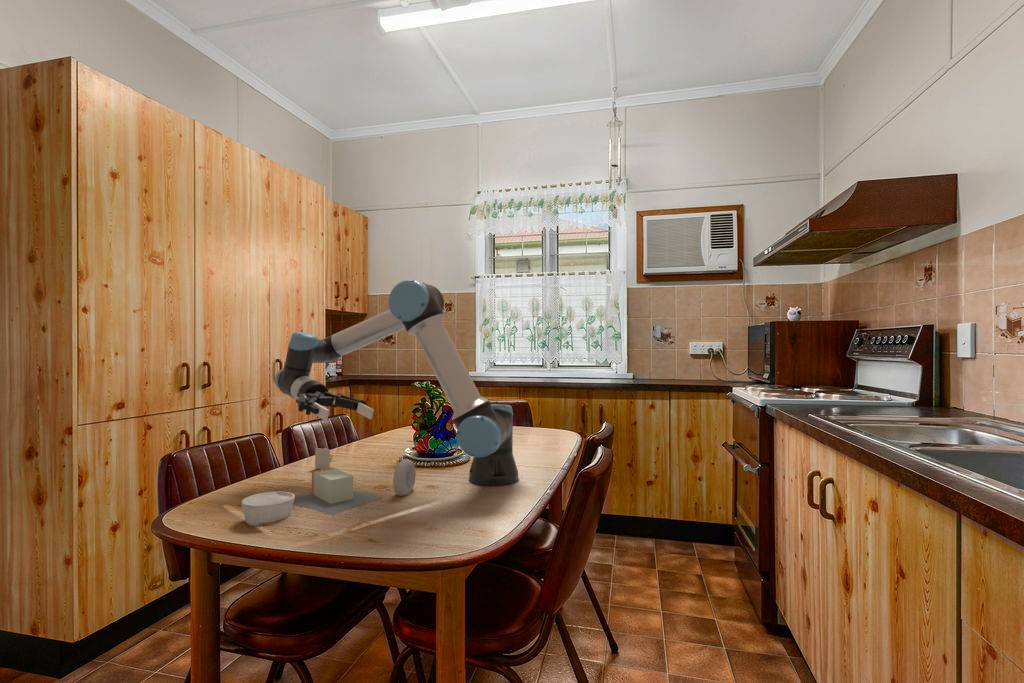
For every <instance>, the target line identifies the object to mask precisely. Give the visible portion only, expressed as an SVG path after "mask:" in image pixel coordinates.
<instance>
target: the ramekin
mask: <svg viewBox="0 0 1024 683" xmlns="http://www.w3.org/2000/svg"><path fill="white" fill-rule="evenodd" d="M295 496H296V495H295V494H294V493H292V492H288V491H283V490H282V491H279V490H278V491H265V492H260V493H255V494H252V495H249V496H247V497H245V498H243V499H242V501H241V507H242V510H243V511H242V512H243V515H244V519H245V523H247V524H248V525H249V526H252V527H258V528H259V527H260V528H262V527H264V523H265V524H267V523H271V522H277V521H281V520H284V519H285V518H288V517H289V516H290V515H291V514H292V512H293V506H294V504H293V502H294V500H295Z"/></svg>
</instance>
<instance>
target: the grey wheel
mask: <svg viewBox="0 0 1024 683" xmlns="http://www.w3.org/2000/svg"><path fill="white" fill-rule="evenodd" d="M416 477H417V474H416V467H415V463H414V462H413V461H412V460H410V459H407V458H406V459H402V460H401V461H399V462H398V463H397V465H396V467H395V470H394V471H393V478H392V486H393V491H394V493H395V494H396V496H400V497H404V496H407V495H409V494H411V492H412V491H413V489H414V486H415V482H416Z"/></svg>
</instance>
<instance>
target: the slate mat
mask: <svg viewBox="0 0 1024 683" xmlns="http://www.w3.org/2000/svg"><path fill="white" fill-rule="evenodd" d="M379 499H383V496H380V495H375V494H372V493H367V492H363V491H359V490H354V489H353V499H350V500H346V501H342V502H337V503H333V504H330V503H328V502H326V501H324V500H322V499H321V498H319V497H317V496H315V495H313V494H312V491H310V492H306V493H303V494H299V495H295V500H294V502H293V505H296V506H298V507H299V506H300V507H303V508H307V509H311V510H312V511H313V510H314V511H317V512H319V513H322V514H327V515H331V516H334V515H336V514H340V513H342V512H344V511H348V510H351V509H353V508H356V507H359V506H362V505H365V504H368V503H370V502H373V501H378V500H379Z"/></svg>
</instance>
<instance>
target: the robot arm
mask: <svg viewBox="0 0 1024 683" xmlns="http://www.w3.org/2000/svg"><path fill="white" fill-rule="evenodd" d="M444 298H445V297H444V296H443V294H442V292H441V291H440V290H439V289H438V288H437V287H436V286H434V285H431V284H428V283H425V282H422V281H421V280H418V279H406V280H402V281H399V282H398V283H397V284H395V285H394V287H393V288H392V289H391V291H390V294H389V297H388V308H389V309H387V310H385V311H383V312H381V313H378V314H376V315H374V316H371V317H369V318H367V319H366V320H363V321H360V322H358V323H356V324H354V325H352V326H350V327H347V328H344V329H343V330H340V331H338V332H336V333H333V334H332V335H329V336H327V337H325V338H322V339H319V338H318V336H317V335H315V334H313V333H309V332H303V331H294V332H293V333H292V334H291V336H290V341H289V342H288V347H287V350H286V351H287V352H286V356H285V357H286V358H285V362H284V366H283V368H281V369H280V370H278V372H277V373H276V374H275V376H274V385H275V387H276V388H277V389H278V390H280V392H281V393H282V394H285V395H287V396H289V397H291V398H292V399H294V400H295V402H296V404H297V411H298V412H304V411H305V415H308V416H310V415H311V414H313V415H314V416H316V417H318V418H320V419H321V420H323V421H328V418H329V413H330V409H328V408H326V407H331V408H335V409H336V408H341V409H348V410H351V411H356V413H358V414H360V415H361V416H363V417H365V418H367V419H368V420H373V415H374V412H375V409H373V408H372V407H370V406H368V405H367V404H368V402H367V401H366V400H365V401H364V399H358V398H354V397H351V396H348V395H345V394H342V393H339V392H338V393H337V394H334V393H332V392H329V390H328V387H327V386H326V385H325V384H323V383H321V382H320V381H317V380H316V379H314V378H312V377H310V374H311V371H312V366H313V364H324V363H325V364H329V363H333V362H336V361H338V360H340V359H341V358H342V357H343V356H345V355H348V354H350V353H352V352H355V351H357V350H359V349H361V348H363V347H367V346H368V345H370V344H373V343H376V342H378V341H380V340H383V339H384V338H388V337H389V336H391V335H394V334H397V333H399V332H402V331H403V330H406V332H407V334H408V335H411V336H413V337H416V340H417V341H418V344H419V345H420V347H421V349H422V351H423V353H424V355H425V357H426V359H427V361H428V363H429V365H430V367H431V369H432V371H433V373H434V375H435V377H436V378H437V380H438V383H439V384H440V386H441V388H442V391H443V393H444V395H445V398H447V400H448V402H449V404H450V406H451V408H452V410H453V414H452V418H451V420H452V422H453V424H454V426H455V428H456V431H457V432H456V440H457V444H458V447H460V449H461V450H462V452H464V453H465V454H466V455H468V456H469V457H473V459H472V462H471V465H470V467H469V468H470V469H469V471H468V480H469V481H470V482H471V483H473V484H477V485H481V486H491V487H492V486H494V487H495V486H506V485H510V484H513V483H515V482H517V481H518V480H519V469H518V468H517V464H516V460H515V456H514V454H513V452H514V451H513V444H514V443H513V442H514V441H513V439H514V438H513V427H514V426H513V424H514V422H513V420H514V419H513V418H514V412H513V406H511V405H510V404H496V403H494V404H492V403H491V402H490V400H489V399H488V398H486V397H485V398H484V397H483V396H482V395H481V394H480V392H479V390H478V389H477V386H476V384H475V382H474V380H473V379H472V376H471V375H470V372H469V371H468V368H467V367H466V365H465V363H464V361H463V359H462V357H461V355H460V354H459V352H458V349H457V348H456V346H455V344H454V342H453V339H452V338H451V336H450V334H449V332H448V331H447V329H446V327H445V324H444V321H445V318H446V317H445V312H444V310H445V299H444ZM334 401H335V402H334ZM333 403H334V404H333Z"/></svg>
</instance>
